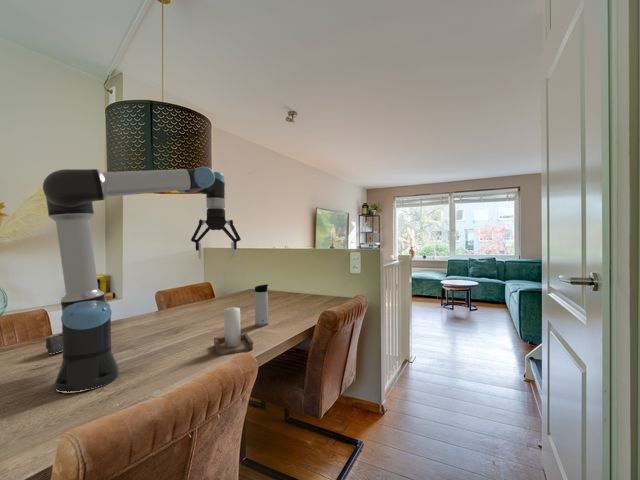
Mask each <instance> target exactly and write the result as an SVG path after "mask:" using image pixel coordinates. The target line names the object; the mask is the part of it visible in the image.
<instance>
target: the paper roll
mask: <svg viewBox="0 0 640 480" xmlns="http://www.w3.org/2000/svg"><path fill="white" fill-rule="evenodd" d="M223 315H224V317H223V318H224V337H225V347H229V348H231V347H237V346H240V345H241V334H242V333H241V308H240V307H228V308H224V313H223Z"/></svg>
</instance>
